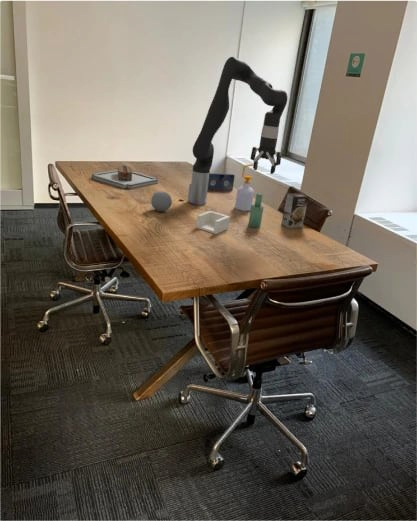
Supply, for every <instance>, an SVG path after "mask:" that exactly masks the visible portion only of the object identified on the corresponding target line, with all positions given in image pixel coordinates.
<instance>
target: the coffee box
mask: <svg viewBox="0 0 417 521" xmlns="http://www.w3.org/2000/svg"><path fill="white" fill-rule="evenodd" d="M286 195H287V196H286V198H285V199H286V200H285V204H284V210H283V213H282V220H281V225H282V226H285V228H287V229H292V228H293V229H294V228H295V229H296V228H297V229H298V228H303V225H304V220H305V216H306V211H307V207H308V202H309V195H306V194H303V193H286Z"/></svg>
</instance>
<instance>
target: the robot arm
mask: <svg viewBox="0 0 417 521" xmlns="http://www.w3.org/2000/svg"><path fill="white" fill-rule="evenodd" d="M233 80H235V81H239V82H243V83H245V84H247V85H248V86H249V88H250V90H251V91H252V92H253V93H254V94H256V95H257V96H258V97H260V99H261V100H262V102H263V103H264V104H265V105H267V106H269V107H272V108H271V110H270V111H266V112H265V113H264V118H263V119H264V120H263V125H262V128H261V133H260V141H259V145H258V146H259V147H257V146H252V149H251V153H250V157H249V158H250V160H251V161H252V162H253V163H252V164H253V167H252V168H253V171H257V170H258V165H259V160H261V159H266V160H269V162H270V164H271V168H270V172H269V174H271V175H273V174H274V173H275V172H276V167H277V166H279V165H281V161H282V154H283V153H282V151H276V148H277V144H278V143H277V142H278V137H279V129H280V122H281V117H282V115H283V113H284V110H285V108H286V106H287V102H288V93H287V92H286V91H285V90H284V89H278V88H277V89H276V88H274V87H273V85H272V84H271V83H270V82H269V81H267V80H266V79H265V78H264V77H262V76H260V75H259V74H257V72H255V71H254V69H252V67H251V66H250V65H249V64H248V63H247V62H246V61H245V60H243V59H240V58H237V57H235V56H230V57H228V58H227V60H226V61H225V63H224V65H223V68H222V71H221V75H220V78H219V81H218V85H217V88H216V91H215V93H214V96H213V99H212V101H211V103H210V106H209V108H208V111H207V112H206V113H207V114H206V116H205V119H204V122H203V124H202V128H201V130H200V133H199V134H198V135H197V136H198V137H197V138H196V140H195V141H194V144H193V146H192V154H193V156H194V158H195V162H194V163H193V165H192V172H191V181H190V183H189V185H188V193H187V202H188V203H190V204H193V205H199V206H203V205H206V204H207V196H208V191H209V190H208V182H209V174H210V172H211V168H212V166H213V159H214V153H215V149H214V148H215V147H214V145H213V139H214V137H215V135H216V133H218V131H219V129H220V128H221V127H222V125H223V124H224V122H225V120H226V117H227V115H228V112H229V111H230V96H229V94H230V93H229V90H230V86H231V83H232V81H233ZM257 152H258V154H257ZM256 155H257V156H256ZM275 157H276V158H275Z"/></svg>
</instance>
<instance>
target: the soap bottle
mask: <svg viewBox="0 0 417 521" xmlns="http://www.w3.org/2000/svg"><path fill="white" fill-rule="evenodd" d="M253 164H254V163H249V164H245V165H244V167H243V169H242V178H244V179H245V180H244V181H243V185H241V186H239V187H238V188H237V190H236V197H235V201H234V202H235V203H234V208H235V209H236V210H239V211H243V212H244V211H245V212H248V211H249V212H250V211H251V205H253V200H254V194H255V192H254V189H253V188H252V187H251V186H250V185H251V182H250V180H251V179H253V176H252V175H245V169H246V168H247V167H252V166H253Z"/></svg>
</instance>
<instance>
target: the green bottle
mask: <svg viewBox="0 0 417 521" xmlns="http://www.w3.org/2000/svg"><path fill="white" fill-rule="evenodd" d="M262 201H263V194H262V193H260V192H259V193H256V194H255V201H254V204H252V205H251V210H249V217H248V225H247V226H248V227H250V228H252V229H259V228H261V225H262V219H263V214H264V213H263V212H264V208H265V206H263V205H262Z"/></svg>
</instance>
